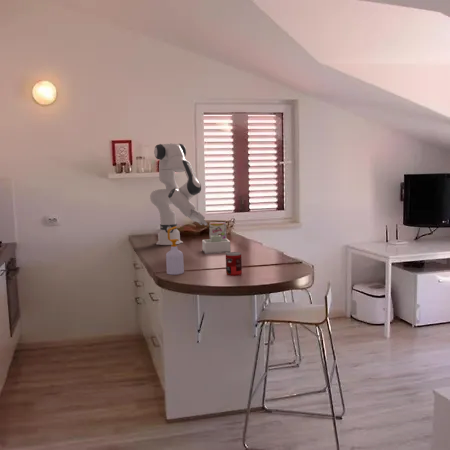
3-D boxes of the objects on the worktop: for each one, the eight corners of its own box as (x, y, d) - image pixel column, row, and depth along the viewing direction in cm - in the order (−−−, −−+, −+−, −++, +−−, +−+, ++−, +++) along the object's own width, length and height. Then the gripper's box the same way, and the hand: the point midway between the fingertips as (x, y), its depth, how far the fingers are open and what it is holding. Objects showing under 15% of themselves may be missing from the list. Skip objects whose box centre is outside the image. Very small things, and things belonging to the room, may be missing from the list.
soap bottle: (185, 273, 289) (183, 227, 286) (168, 275, 287) (166, 228, 284) (182, 270, 298) (180, 225, 295) (165, 272, 295) (163, 226, 292)
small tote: (210, 249, 358) (210, 235, 357) (220, 248, 359) (219, 235, 358) (212, 250, 352) (211, 236, 351) (221, 250, 353) (221, 236, 352)
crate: (202, 250, 362) (202, 239, 361) (226, 248, 364) (226, 238, 363) (205, 253, 348) (205, 242, 347) (230, 252, 350) (230, 241, 350)
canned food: (225, 273, 288) (224, 252, 286) (240, 272, 288) (240, 251, 287) (226, 276, 280) (226, 254, 279) (242, 275, 281) (242, 254, 279)
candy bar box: (209, 247, 372) (208, 223, 370) (210, 246, 377) (209, 222, 375) (226, 247, 371) (225, 222, 369) (226, 246, 376) (226, 222, 374)
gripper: (196, 206, 341) (212, 221, 344) (188, 206, 360) (203, 220, 364) (189, 213, 340) (205, 228, 343) (181, 213, 359) (197, 227, 363)
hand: (204, 224), depth 354 cm, fingers open, 8 cm apart
